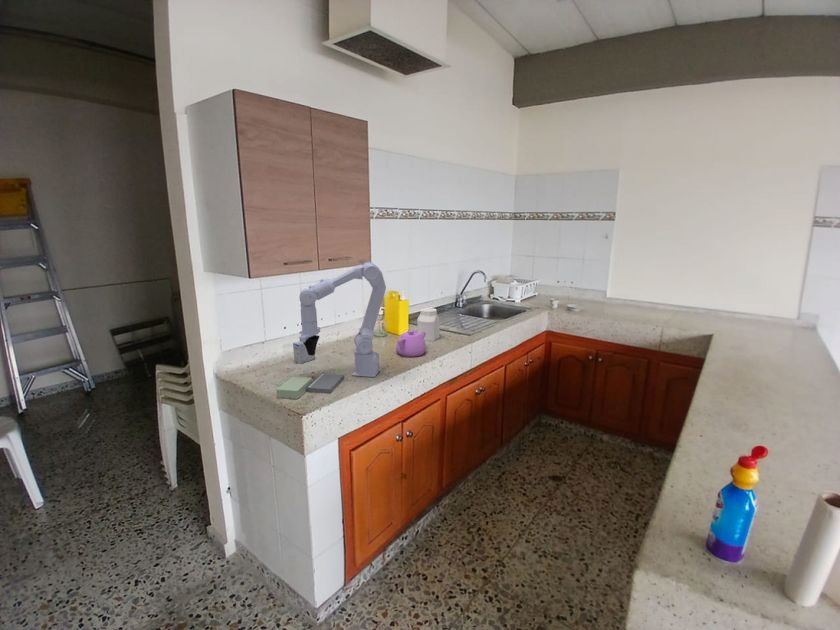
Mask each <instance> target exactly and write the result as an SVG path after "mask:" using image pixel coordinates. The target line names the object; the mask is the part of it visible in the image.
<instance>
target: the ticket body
mask: <svg viewBox="0 0 840 630" xmlns="http://www.w3.org/2000/svg"><path fill="white" fill-rule="evenodd" d="M344 380H345V375H344V374H336V373H335V374H334V373H321V374H320V375H319V376H317V377H316V378H315V379H314V380H312V383H311V384H310V385H309V386H308V387H307V391H306V392H309V393H310V392H311V393H321V394H332V393H333V391H335V390H336V388H337V387H338V386H339V385H340V384H341V382H343V381H344Z"/></svg>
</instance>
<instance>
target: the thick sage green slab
mask: <svg viewBox="0 0 840 630" xmlns="http://www.w3.org/2000/svg"><path fill="white" fill-rule="evenodd" d="M312 382H313V377H303V376H302V377H301V376H291V377H290V378H288V379H287V380H286V381H285V382H284V383H283V384H281V385H280V386H279V387H277V388H276V398H277V399H279V398H280V399H290V398H291V399H292V400H293V399H294V400H298V399H300V398H301V397H302V396H303V395H305V393H306V392H307V387H308V386H309V385H310V384H311V383H312ZM299 397H300V398H299Z"/></svg>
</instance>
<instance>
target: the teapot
mask: <svg viewBox="0 0 840 630" xmlns="http://www.w3.org/2000/svg"><path fill="white" fill-rule="evenodd" d="M425 334H426V333H425V332H423V331H422V332H421V334H419V333H418V332H415V330H412V329H409V330H407V331H406V332H403V333H402V334H401V335H400V337H399V338H398V340H397V342H396V346H395V351H396V353H397V354H399V355H400V356H402V357H405V358H406V357H408V358H409V357H410V358H416V357H419V356H422V355H424V354H425V352H426V351H427V345H426V341H424V337H425Z"/></svg>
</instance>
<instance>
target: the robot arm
mask: <svg viewBox="0 0 840 630" xmlns="http://www.w3.org/2000/svg"><path fill="white" fill-rule="evenodd" d="M383 275H384V274H383V272H382V270H381V269H380V268H379V267H378V266H377V265H376V264H375V263H373V262H372V261H366V262H364V263H363V264H358V265H357V266H354V267H352V268H351V269H348V270H347V271H345V272H343V273H341V274H340V275H338V276H336V277H334V278H333V279H332V278H331V279H330V278H325V279H324V278H322V279H320V280H319V282H317V283H315V284H313V285H308V287H307V288H304V289H302V290H301V291H300V293H299V298H298V299H299V302H300V319H301V321H300V322H301V331H299V332H298V333H299V335H300V336H299V337H298V338H299V339H298V340H299V341H300V342H303V343H304V345H305V347H306V349H307V352H308V355H311V356H314V355H315V356H316V352H317V345H318V342H319V339H320V335H319V333H320V332H321V327H320V326H318V318H317V317H318V315H317V307H316V301H320V300H321V299H323V298H325V297H327V296H329V295H331V294H333V293H335V291H336V290H335V289H336V288H337V287H340V286H341V285H344V284H346V283H348V282H350V281H352V280H355V279H356V280H364V279H365V280H366V281H368V283H369V284H370V286H371V288H372V289H371V290H372V291H371V294H370V297H369V300H368V304H367V307H366V311H365V314H364V317H363V321H362V325H361V327H360V328H359V330H358V333H356V335H355V336H354V344H355V347H356V348H355V350H354V351H353V352H354V354H353V355H354V371H353V373H352V374H351V376H354V377H366V378H367V377H369V378H370V377H371V378H375V377H377V375H378V373H379V372H380V371H381V370H380V354H379V352H376V351H374V349H373V348H374V345H373V339H374V329H375V327H376V323H377V319H378V318H379V317H378V316H379V313H380V310H381V307H382V305H383V304H382V303H383V300H384V297H385V294H386V290H387V286H386V282H385V280H384V276H383ZM363 277H364V278H363Z"/></svg>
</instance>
